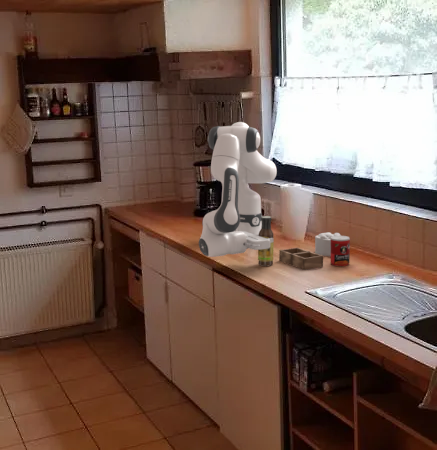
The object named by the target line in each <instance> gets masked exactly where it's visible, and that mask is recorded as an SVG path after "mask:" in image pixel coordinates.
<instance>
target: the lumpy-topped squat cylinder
mask: <svg viewBox="0 0 437 450" xmlns="http://www.w3.org/2000/svg"><path fill="white" fill-rule="evenodd" d="M332 236H342V235H341V234H340V233H339V232H334V233H332V232H328V231H327V232H322V233H319V234H318V235H315V236H314V248H315V249H314V253H316V254H319V255H322V256H323V257H331V237H332Z"/></svg>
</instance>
